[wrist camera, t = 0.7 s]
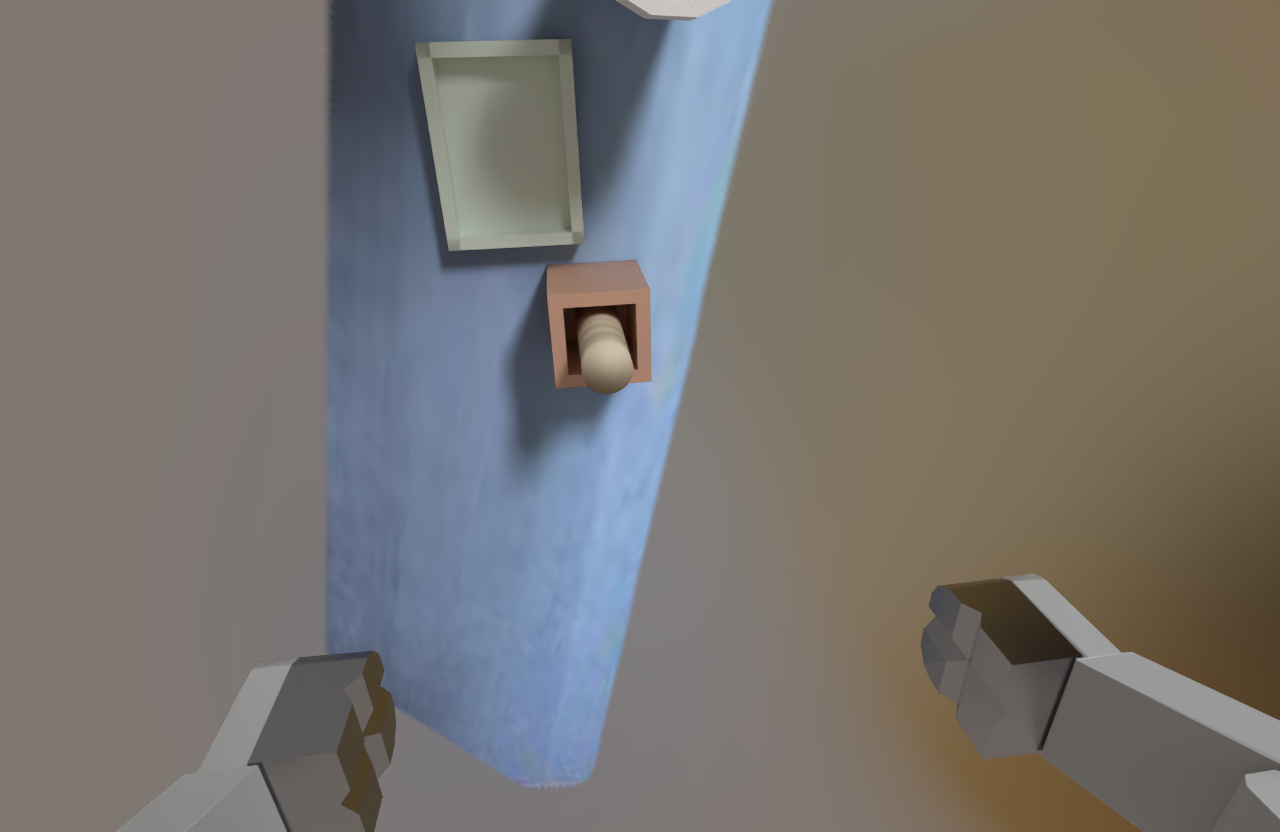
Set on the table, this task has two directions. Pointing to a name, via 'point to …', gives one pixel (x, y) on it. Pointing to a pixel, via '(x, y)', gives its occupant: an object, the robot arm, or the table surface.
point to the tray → (504, 141)
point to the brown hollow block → (597, 288)
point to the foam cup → (672, 8)
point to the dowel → (603, 349)
